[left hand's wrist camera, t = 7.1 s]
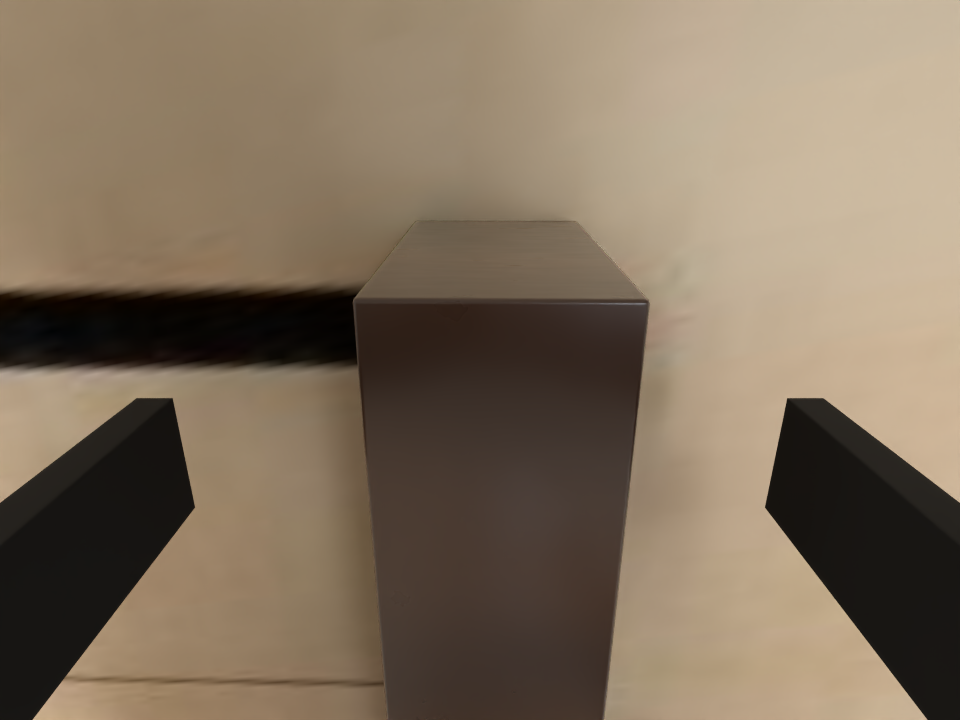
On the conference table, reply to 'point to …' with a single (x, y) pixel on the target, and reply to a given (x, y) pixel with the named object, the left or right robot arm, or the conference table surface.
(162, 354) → the conference table surface
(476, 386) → the rail
